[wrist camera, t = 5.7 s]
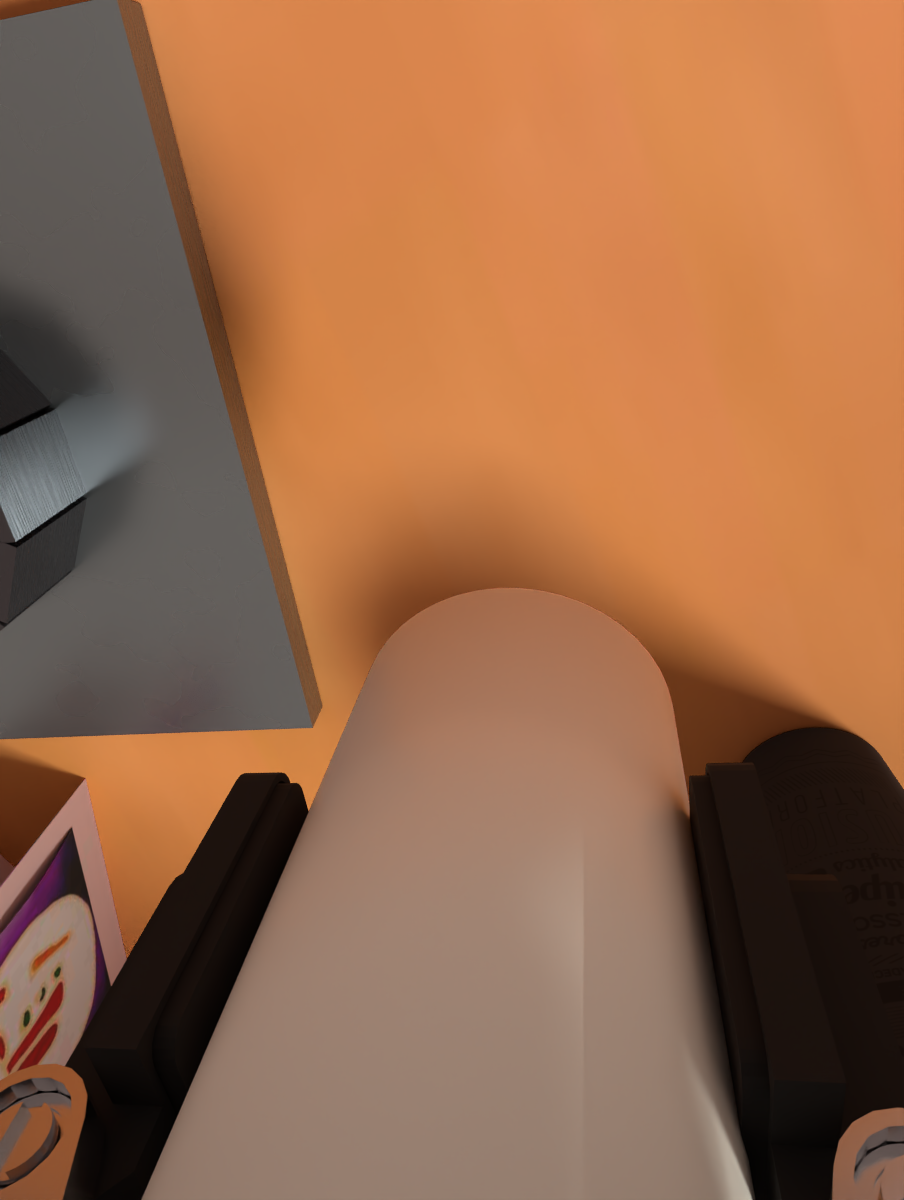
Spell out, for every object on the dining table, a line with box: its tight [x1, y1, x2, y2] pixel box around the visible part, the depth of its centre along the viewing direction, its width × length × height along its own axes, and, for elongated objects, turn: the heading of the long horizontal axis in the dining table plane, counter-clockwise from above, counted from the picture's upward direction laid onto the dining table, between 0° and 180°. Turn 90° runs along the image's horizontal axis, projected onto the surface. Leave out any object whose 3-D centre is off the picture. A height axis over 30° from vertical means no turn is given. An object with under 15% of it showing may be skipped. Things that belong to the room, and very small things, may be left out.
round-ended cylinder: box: [141, 588, 755, 1200], centre depth 9 cm, size 5×5×10 cm
